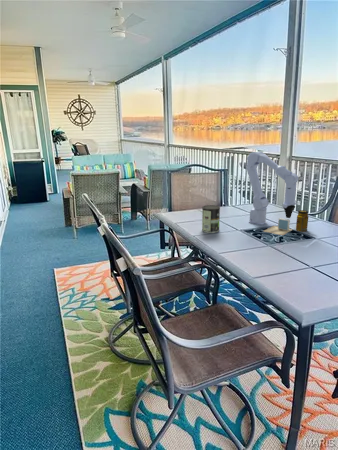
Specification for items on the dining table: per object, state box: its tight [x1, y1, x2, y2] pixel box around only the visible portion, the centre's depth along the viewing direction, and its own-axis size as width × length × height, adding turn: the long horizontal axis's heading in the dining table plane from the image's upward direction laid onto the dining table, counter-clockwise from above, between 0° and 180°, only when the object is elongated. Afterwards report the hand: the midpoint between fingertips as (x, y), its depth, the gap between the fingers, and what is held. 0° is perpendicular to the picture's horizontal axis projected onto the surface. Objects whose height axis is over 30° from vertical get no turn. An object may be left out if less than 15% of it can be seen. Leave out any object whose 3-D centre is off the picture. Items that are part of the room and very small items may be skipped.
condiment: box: [295, 209, 309, 233], centre depth 183 cm, size 7×8×12 cm
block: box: [277, 218, 291, 230], centre depth 186 cm, size 6×2×6 cm, turn 48°
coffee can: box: [201, 204, 221, 234], centre depth 187 cm, size 10×10×14 cm
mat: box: [263, 225, 293, 236], centre depth 185 cm, size 12×14×1 cm
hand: (288, 217), depth 189 cm, fingers closed
